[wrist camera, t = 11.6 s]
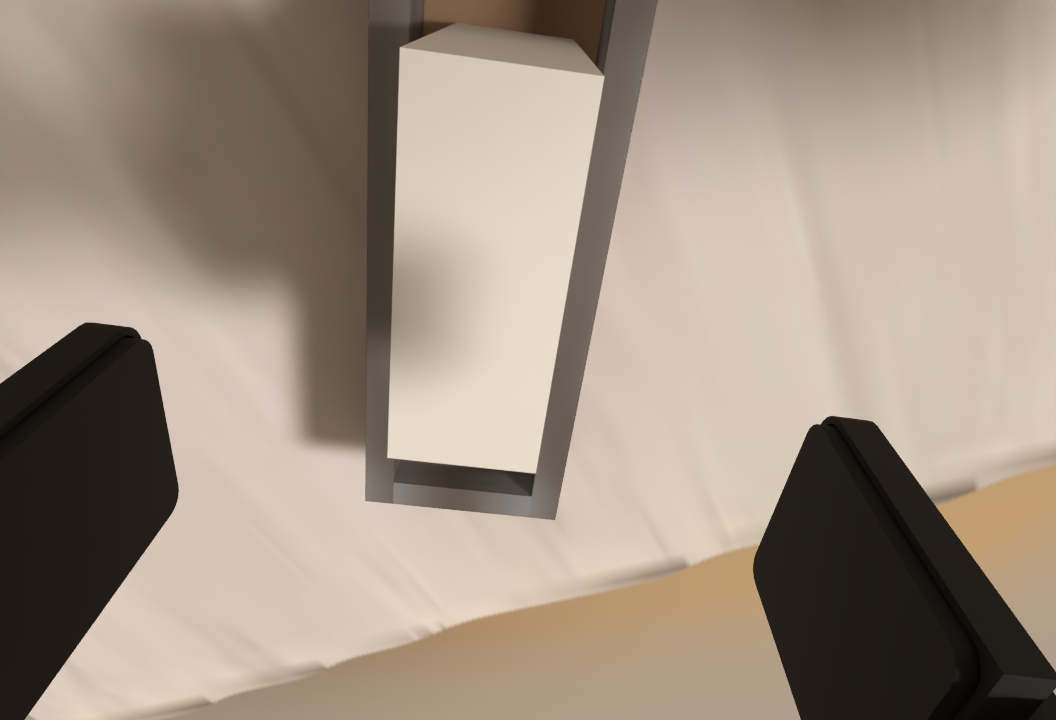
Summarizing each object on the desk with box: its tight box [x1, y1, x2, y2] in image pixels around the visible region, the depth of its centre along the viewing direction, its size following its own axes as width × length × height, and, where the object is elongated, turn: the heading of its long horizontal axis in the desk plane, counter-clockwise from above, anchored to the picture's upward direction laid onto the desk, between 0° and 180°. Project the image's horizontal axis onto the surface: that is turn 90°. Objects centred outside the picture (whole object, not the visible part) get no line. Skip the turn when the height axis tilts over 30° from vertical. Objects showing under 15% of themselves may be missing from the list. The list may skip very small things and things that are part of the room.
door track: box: [365, 0, 658, 520], centre depth 24 cm, size 8×28×4 cm, turn 173°
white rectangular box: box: [387, 23, 605, 474], centre depth 20 cm, size 4×10×11 cm, turn 173°
